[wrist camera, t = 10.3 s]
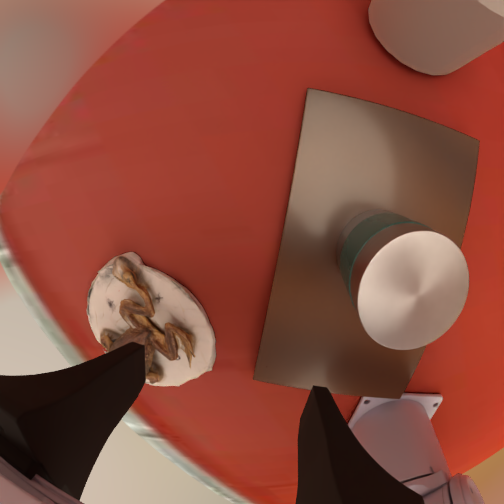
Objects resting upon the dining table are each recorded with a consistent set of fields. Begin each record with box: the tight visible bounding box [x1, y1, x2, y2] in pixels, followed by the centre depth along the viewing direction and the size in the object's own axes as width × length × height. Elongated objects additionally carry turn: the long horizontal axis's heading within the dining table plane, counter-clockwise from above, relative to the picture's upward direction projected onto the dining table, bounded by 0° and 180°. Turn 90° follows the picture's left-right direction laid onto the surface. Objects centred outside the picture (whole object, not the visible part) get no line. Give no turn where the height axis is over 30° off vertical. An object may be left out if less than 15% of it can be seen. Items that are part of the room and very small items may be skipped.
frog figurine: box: [87, 252, 216, 386], centre depth 21 cm, size 12×12×4 cm
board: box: [253, 88, 480, 399], centre depth 18 cm, size 20×12×1 cm, turn 171°
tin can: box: [336, 210, 469, 350], centre depth 14 cm, size 5×5×7 cm
